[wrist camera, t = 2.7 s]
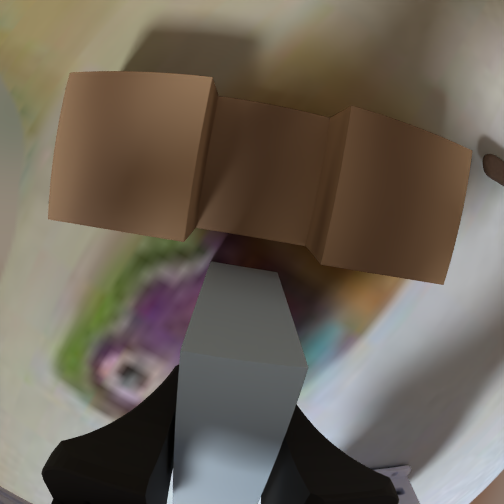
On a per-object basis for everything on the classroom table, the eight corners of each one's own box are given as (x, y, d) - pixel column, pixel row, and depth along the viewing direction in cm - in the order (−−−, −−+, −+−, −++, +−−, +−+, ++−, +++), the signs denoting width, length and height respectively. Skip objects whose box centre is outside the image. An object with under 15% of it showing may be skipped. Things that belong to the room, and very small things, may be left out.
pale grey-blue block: (277, 272, 13) (307, 367, 7) (242, 426, 16) (243, 534, 9) (210, 261, 13) (180, 350, 7) (191, 419, 15) (172, 526, 9)
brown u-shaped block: (425, 152, 12) (472, 150, 9) (402, 259, 13) (443, 284, 10) (108, 92, 11) (69, 72, 8) (91, 206, 13) (47, 219, 9)
